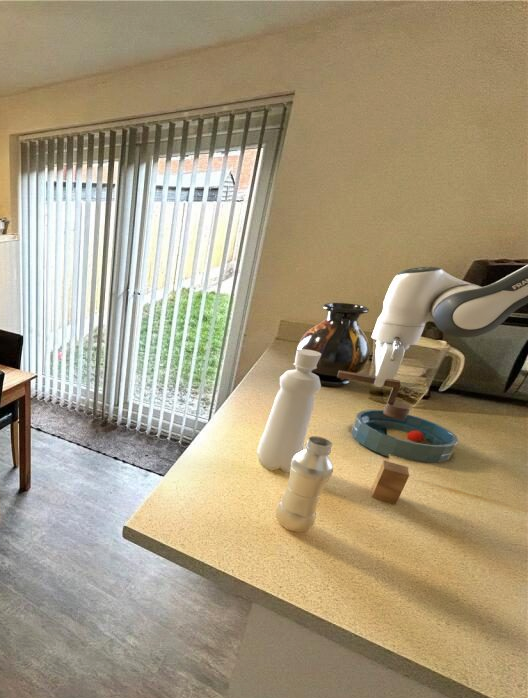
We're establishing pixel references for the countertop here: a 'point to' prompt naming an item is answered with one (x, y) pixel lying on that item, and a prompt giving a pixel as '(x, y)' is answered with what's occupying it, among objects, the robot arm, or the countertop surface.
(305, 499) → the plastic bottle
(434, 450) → the blue ring
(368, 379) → the bent rod on disc
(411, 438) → the tomato
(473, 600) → the countertop surface
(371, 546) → the countertop surface
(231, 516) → the countertop surface
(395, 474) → the wooden toy brick
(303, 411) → the bottle
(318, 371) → the black vase
